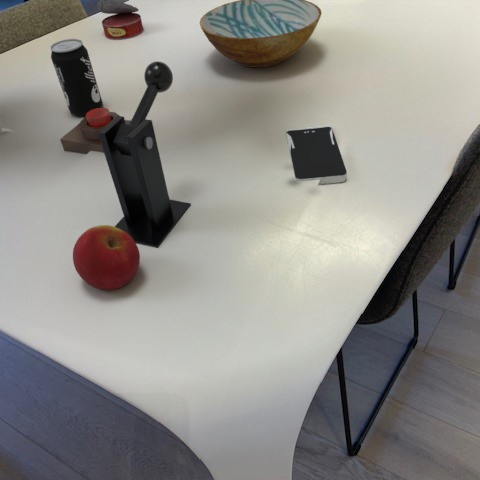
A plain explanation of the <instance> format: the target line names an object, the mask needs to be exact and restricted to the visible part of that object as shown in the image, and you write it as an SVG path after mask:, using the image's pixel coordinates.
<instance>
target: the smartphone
mask: <svg viewBox="0 0 480 480" xmlns="http://www.w3.org/2000/svg"><path fill="white" fill-rule="evenodd" d="M285 136H286V142H287V146H288V151H289V156H290V161H291V165H292V170H293V175H294V179H295V181H297V182H307V181H317V180H319V181H318V184H317V185H318V186H319V185H328V184H338V183H340V184H341V183H344V182H346V180H347V173H348V171H347V168H346V164H345V162H344V159H343V156H342V154H341V150H340V147H339V145H338V141H337V138H336V136H335V132H334V129H333V127H332V126H331V125H317V126H310V127H308V126H307V127H299V128H298V127H297V128H290V129H287V130H286V131H285Z"/></svg>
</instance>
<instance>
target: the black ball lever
mask: <svg viewBox="0 0 480 480" xmlns="http://www.w3.org/2000/svg"><path fill="white" fill-rule="evenodd" d="M173 75H174V74H173V72H172V70H171V68H170V67H169V65H168V64H166V63H165V62H163V61H152V62H151V63H149V64H148V65H147V66H146V68H145V70H144V75H143V77H144V81H145V85H146V86H147V87H146V89H145V91H144V92H143V95H142V97H141V99H140V102H139V103H138V105H137V107H136V110H135V112H134V114H133V116H132V118H131V119H130V121H131V122H130V124H121V126H120V128H119V130H118V132H117V134H116V136H115V138H114V140H113V143H114V145H115V146H116V148H117V149H118V151H119V152H120V153H121V155H127V156H131V152H130V148H129V145H128V141H127V136H128V135H129V134H130V133H131V132H132V131H133V130H134V129H135V128H136V127H137V126H138V125H139V124H140V123H142V122H143V121H144V120H145V119H147V117H148V115H149V112H150V111H151V108H152V106H153V104H154V102H155V100H156V97H157V96H158V94H161V93H165V92H167V91H168V90H169V89H170V88H171V87H172V84H173V79H174V76H173Z"/></svg>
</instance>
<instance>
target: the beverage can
mask: <svg viewBox="0 0 480 480" xmlns="http://www.w3.org/2000/svg"><path fill="white" fill-rule="evenodd" d="M49 49H50V51H51V54H50V59H51V62H52V65H53V68H54V70H55V73H56V76H57V79H58V82H59V85H60V87H61V91H62V94H63V96H64V99H65V102H66V105H67V108H68V110H69V112H70V113H71V114H73V115H74V116H76V117H78V118H79V117H80V118H85V117H86V114H87V113H88V112H89V111H91V110H93V109H96V108H103V99H102V96H101V92H100V89H99V85H98V82H97V78H96V75H95V72H94V69H93V66H92V61H91V58H90V55H89V51H88V49H87V48H86V46H85V45H84V44H83V41H82V39H78V38H66V39H61V40H59V41H56V42H54V43H52V44H51V45H50V48H49Z"/></svg>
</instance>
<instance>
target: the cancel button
mask: <svg viewBox="0 0 480 480" xmlns="http://www.w3.org/2000/svg"><path fill="white" fill-rule="evenodd" d="M110 112H111V111H110V110H109V109H108V108H106V107H101V108H96V109H93V110H91V111H89V112H88V113H87V114H86V118H87V121H88V124H89V126H90V127H95V128H96V127H103V126H105V125H107V124H108V123H110V122H111V121H112V119H111V115H110Z"/></svg>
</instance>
